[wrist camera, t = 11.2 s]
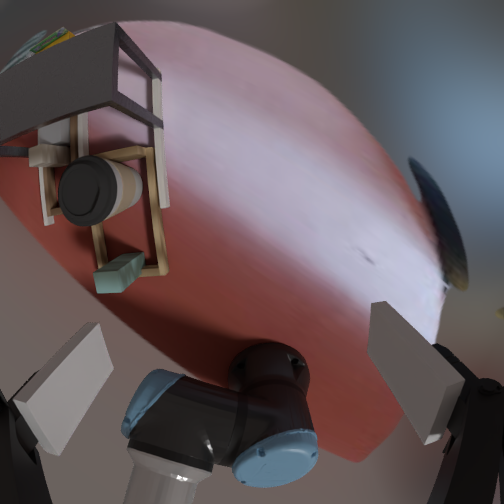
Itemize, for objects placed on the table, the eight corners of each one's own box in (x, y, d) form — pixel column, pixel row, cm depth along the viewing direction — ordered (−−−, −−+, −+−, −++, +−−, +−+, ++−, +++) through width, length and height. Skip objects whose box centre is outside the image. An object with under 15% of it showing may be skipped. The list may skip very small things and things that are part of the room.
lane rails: (169, 206, 46) (166, 207, 44) (50, 224, 46) (44, 225, 44) (161, 71, 41) (158, 67, 39) (44, 106, 41) (38, 104, 39)
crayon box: (64, 79, 40) (28, 62, 29) (62, 67, 39) (28, 49, 28) (96, 61, 40) (64, 38, 28) (94, 49, 39) (63, 25, 28)
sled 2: (169, 270, 48) (148, 294, 38) (106, 275, 48) (76, 297, 38) (155, 148, 44) (129, 140, 33) (91, 161, 44) (55, 158, 33)
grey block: (76, 143, 43) (61, 141, 38) (55, 149, 43) (39, 148, 38) (75, 117, 42) (60, 112, 37) (54, 124, 42) (39, 120, 37)
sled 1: (86, 209, 46) (58, 215, 37) (54, 215, 46) (25, 222, 37) (81, 100, 41) (53, 88, 32) (49, 111, 41) (20, 103, 32)
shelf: (163, 129, 43) (111, 100, 24) (44, 158, 43) (-30, 156, 24) (161, 74, 41) (115, 21, 22) (44, 108, 41) (-26, 91, 22)
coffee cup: (93, 200, 45) (41, 209, 31) (114, 151, 44) (65, 143, 29) (135, 224, 47) (91, 242, 32) (158, 174, 45) (120, 172, 30)
